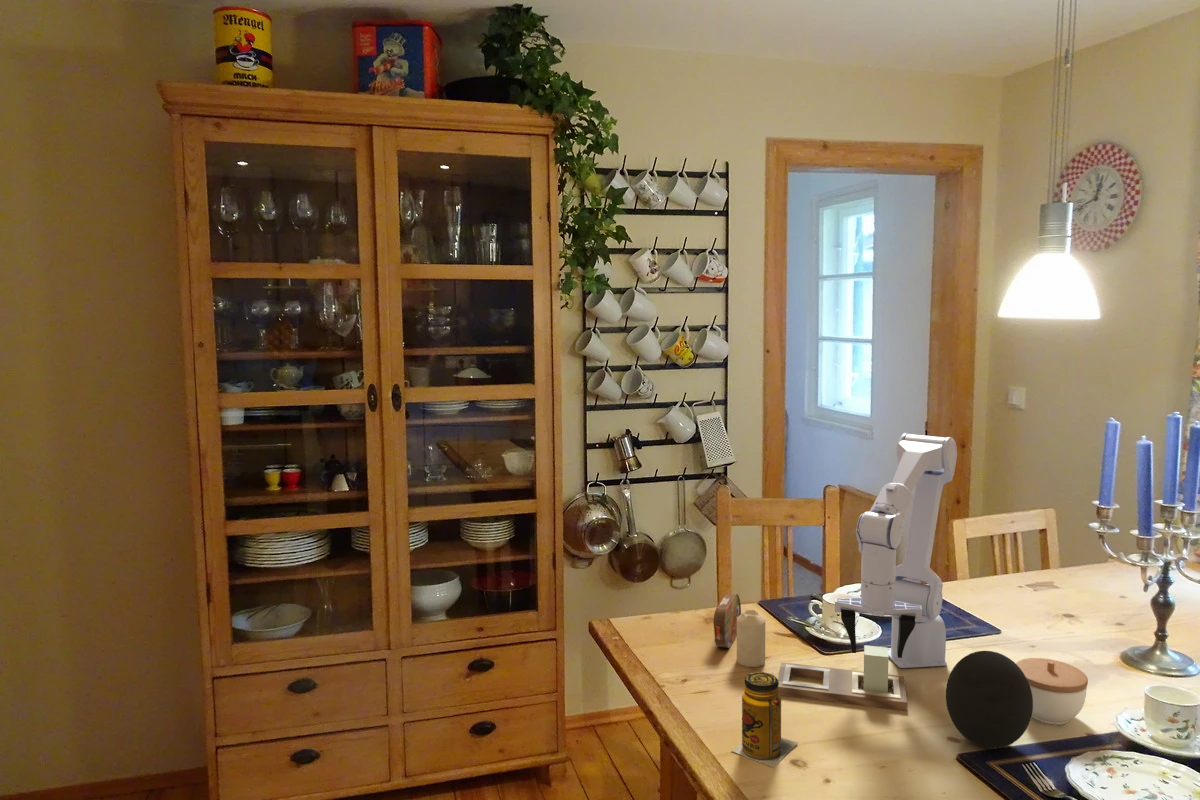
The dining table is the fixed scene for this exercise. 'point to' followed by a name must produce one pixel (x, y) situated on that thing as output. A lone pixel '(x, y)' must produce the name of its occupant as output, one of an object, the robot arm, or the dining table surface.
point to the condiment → (762, 720)
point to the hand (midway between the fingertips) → (876, 653)
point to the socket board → (840, 686)
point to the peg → (875, 669)
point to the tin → (726, 620)
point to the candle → (751, 639)
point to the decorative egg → (989, 699)
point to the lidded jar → (1054, 689)
